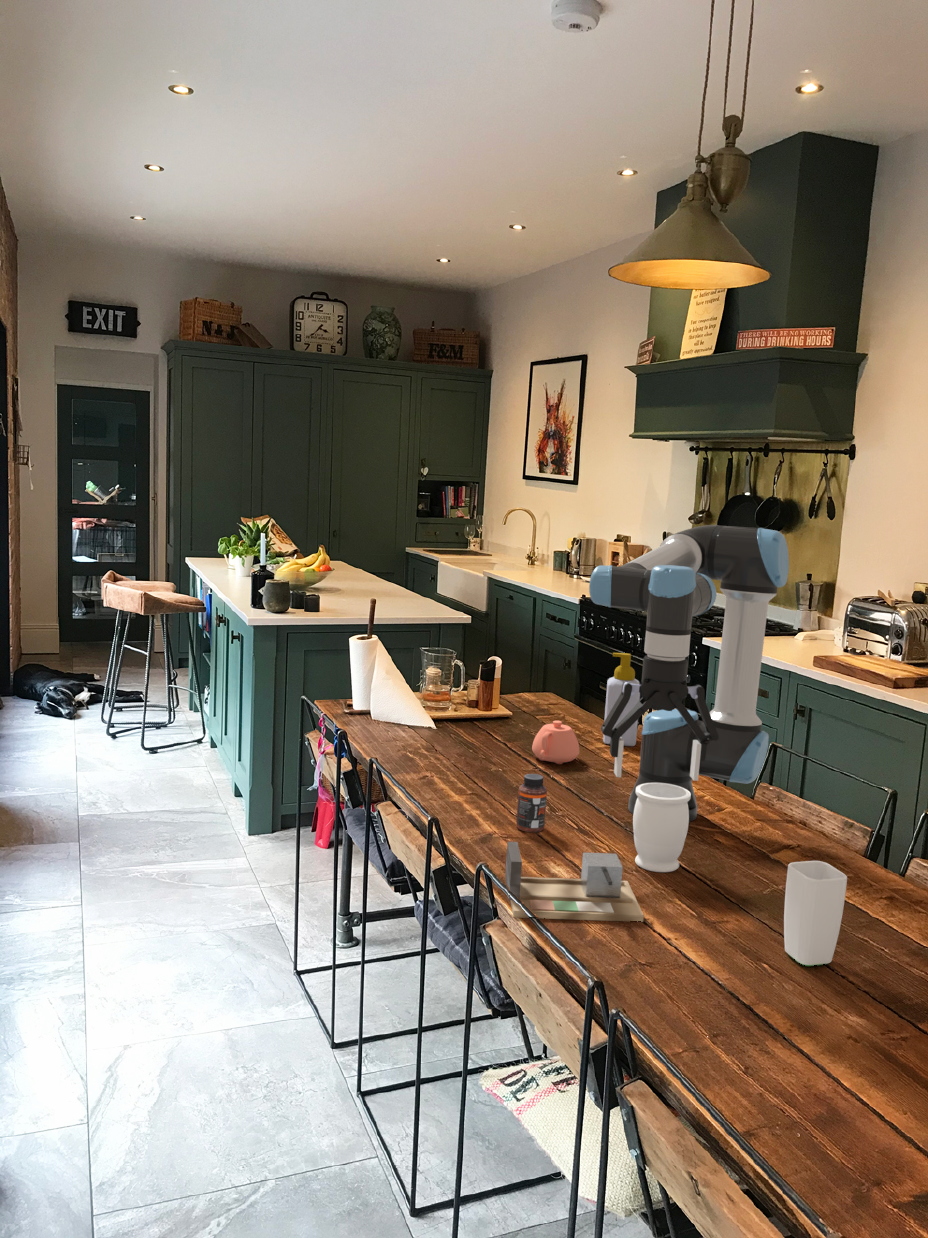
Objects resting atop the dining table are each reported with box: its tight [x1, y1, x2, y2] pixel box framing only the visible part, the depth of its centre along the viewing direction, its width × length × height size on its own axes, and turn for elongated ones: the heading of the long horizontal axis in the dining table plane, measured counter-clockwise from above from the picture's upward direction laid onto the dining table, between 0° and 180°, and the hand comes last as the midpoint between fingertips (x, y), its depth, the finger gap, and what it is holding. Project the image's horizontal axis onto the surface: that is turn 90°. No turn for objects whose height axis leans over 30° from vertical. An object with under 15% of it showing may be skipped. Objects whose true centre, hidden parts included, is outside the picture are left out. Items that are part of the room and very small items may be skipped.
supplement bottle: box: [515, 773, 548, 833], centre depth 208 cm, size 6×6×11 cm
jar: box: [632, 783, 691, 873], centre depth 191 cm, size 11×10×15 cm
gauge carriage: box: [580, 851, 624, 898], centre depth 172 cm, size 6×11×6 cm, turn 2°
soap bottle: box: [602, 652, 641, 747], centre depth 277 cm, size 9×9×25 cm
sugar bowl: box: [531, 720, 580, 765], centre depth 257 cm, size 12×14×10 cm
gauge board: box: [504, 841, 645, 923], centre depth 173 cm, size 22×14×8 cm, turn 92°
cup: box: [783, 860, 848, 967], centre depth 157 cm, size 7×7×15 cm
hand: (655, 776), depth 173 cm, fingers open, 13 cm apart
